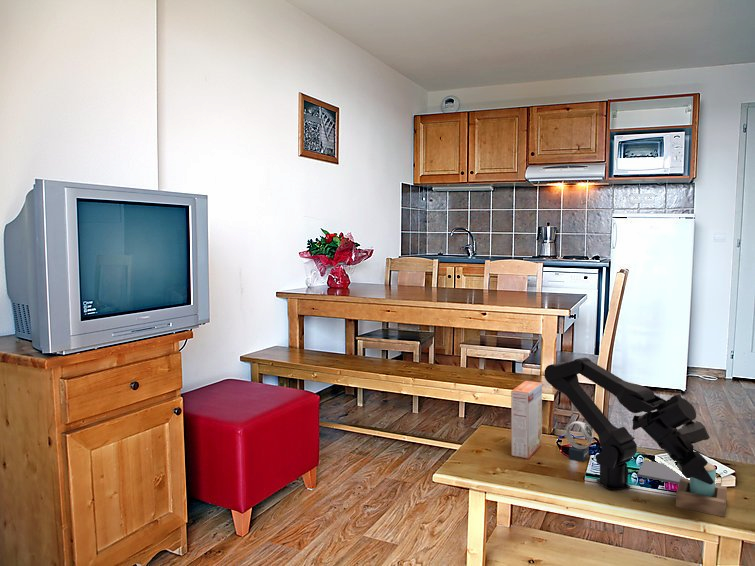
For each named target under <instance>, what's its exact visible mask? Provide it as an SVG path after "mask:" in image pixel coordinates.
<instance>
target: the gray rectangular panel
mask: <svg viewBox="0 0 755 566" xmlns="http://www.w3.org/2000/svg"><path fill="white" fill-rule="evenodd" d="M664 464H665V463H662V462H658V461H657V462H655V461H652V460H651V461H650V460H645V459H643V462H642V464H641V466H640V468H639V470H638V472H637V478H638V477H642V478H641V479H643V478H648V479H653V480H659V481H663V482H670V483H675V484H679V482H680V479H681V478H682V479H685V478H684V477H682V476H680V475H679V474H678V473H676V472H675V471H673V470H672V469H670V468H669V467H667V466H666V465H664ZM648 479H647V480H648ZM653 480H652V481H653ZM663 482H662V483H663ZM720 484H721V485H722V483H716V484H715V485H719V486H720Z"/></svg>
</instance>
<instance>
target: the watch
mask: <svg viewBox="0 0 755 566" xmlns="http://www.w3.org/2000/svg"><path fill="white" fill-rule="evenodd" d="M573 425H578V426H579V428H580V429H581V430H580V431H581V434H582V435H583V437H584V438H585V440H587V443H588V444H587V445H582V444H577V443H575V440H574V438H573V436H572V434H571V431H570V427H571V426H573ZM565 437H566V440H567V442H568V443H569V445H570V447H569V448H568V460H572V461H577V462H581V463H582V462H583V463H584V462H585V460H587V459H588V458H589V453H590V451H589V449H590V448H589V447H590V445H591V444H592V442H593V440H594V437H595V436H594V432H593V429H592V427H591V426H590V425H589V424H588V423H585V422H583V421H579V420H576V421H573V422H571V423H569V425H567V427H566V429H565Z"/></svg>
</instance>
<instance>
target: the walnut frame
mask: <svg viewBox="0 0 755 566" xmlns="http://www.w3.org/2000/svg"><path fill="white" fill-rule="evenodd" d="M689 488H690V480H688V479H682V478H681V479H680V482H679V485H677V490H676V493H675V507H676V508H681V509H687V510H691V511H695V512H700V513H704V514H709V515H714V516H717V517H718V516H719V517H723V518H725V517H726V508H727V507H726V506H727V494H728V493H727V492H728V491H727V490H728V489H727V488H728V487H727V486H723V485H721V486H719V485H715V496H714V498H713V497H709V496H704V495H699V494H694V493H689Z"/></svg>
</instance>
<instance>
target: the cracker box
mask: <svg viewBox="0 0 755 566" xmlns="http://www.w3.org/2000/svg"><path fill="white" fill-rule="evenodd" d="M510 393H511V394H510V397H511V399H510V401H511V403H510V404H511V405H510V406H511V416H510V418H511V422H510V423H511V427H510V428H511V430H510V431H511V432H510V433H511V434H510V435H511V437H510V439H511V444H510V445H511V457H515V458H519V459H520V458H522V459H525V460H530V459H531V457H532V456H533V455H534V454H535V453H536V452H537V450H538V449H539V448H541V446H542V443H543V441H542V439H543V436H542V435H543V432H542V431H543V427H542V422H543V419H542V418H543V417H542V416H543V413H542V412H543V410H542V409H543V383H542V382H538V381H531V380H525V381H523V382H521V384H519V385H517V387H515V388H513V389H512V390H511V392H510Z"/></svg>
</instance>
